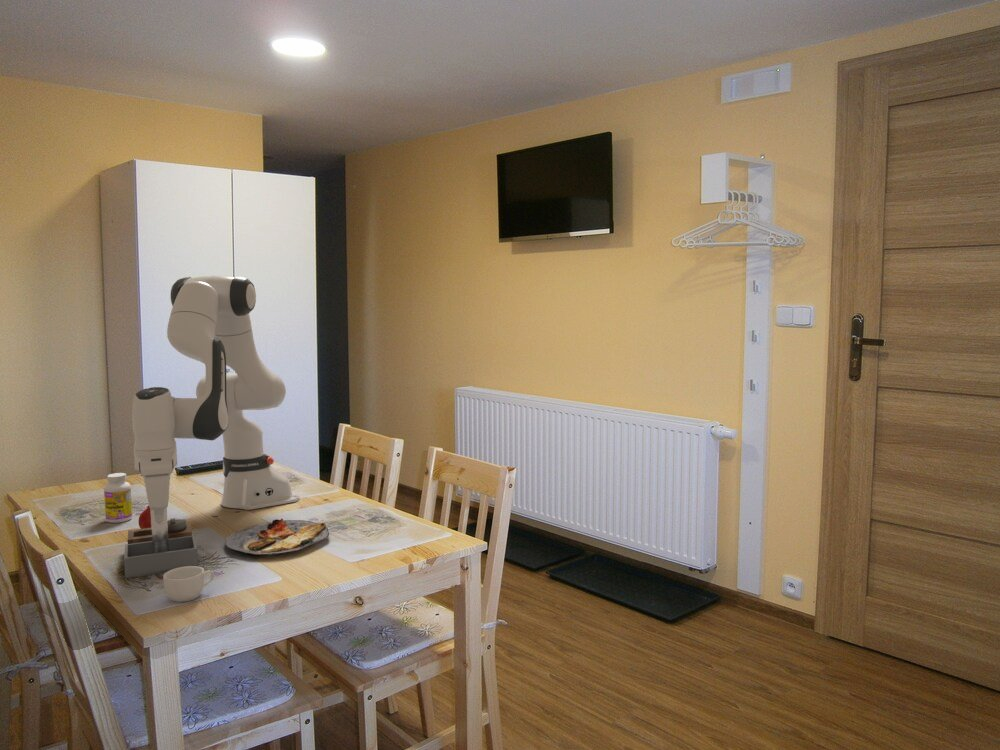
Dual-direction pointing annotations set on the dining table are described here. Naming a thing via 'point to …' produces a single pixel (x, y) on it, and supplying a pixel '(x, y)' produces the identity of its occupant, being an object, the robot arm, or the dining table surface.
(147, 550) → the parts tray
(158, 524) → the pin
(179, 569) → the teacup
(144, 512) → the red round piece
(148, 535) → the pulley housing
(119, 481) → the supplement bottle
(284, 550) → the food plate
